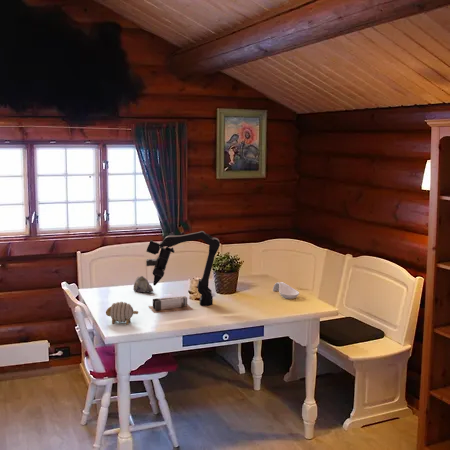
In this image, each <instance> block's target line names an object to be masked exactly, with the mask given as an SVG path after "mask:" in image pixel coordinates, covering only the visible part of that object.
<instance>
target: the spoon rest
mask: <svg viewBox="0 0 450 450" xmlns="http://www.w3.org/2000/svg"><path fill="white" fill-rule="evenodd" d="M272 292H279V295H280V297H282V298H283V299H287V300H293V299H296V298H297V297H299V295H300V292H299V291H298V290H296V289H295V288H293V287H292V286H291V285H289V284H287V283H285V282H283V281H280V282H275V283H274V285H273V287H272Z"/></svg>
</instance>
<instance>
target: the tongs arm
mask: <svg viewBox="0 0 450 450" xmlns="http://www.w3.org/2000/svg"><path fill="white" fill-rule="evenodd" d="M180 297H181V298H174V299H166V300H159V301H155V310H163V309H170V308H177V307H184V297H183V296H180Z"/></svg>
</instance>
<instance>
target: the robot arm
mask: <svg viewBox="0 0 450 450" xmlns="http://www.w3.org/2000/svg"><path fill="white" fill-rule="evenodd" d="M197 240H202V241H203V242H204V243H206V244H207V245H208V254H207V258H206V262H205V266H204V269H203V273H202V277H201V278H198V281H197V285H196V288H197V292H198V294H199V295H200V298H199V306H204V307H210V306H212V305H213V304H214V303H213V299H214V298H213V292H212V289H211V288H210V287H209V283H210V281H209V280H210V275H211V272H212V268H213V265H214V261H215V257H216V255H217V252H218V251H219V249H220V245H221V243H220V240H219V238H217V237H213V236H211V235H210V234H208V233H206V232H205V231H204V230H200V231H198V232H197V231H196V232H192V233H187V234H181V235H176V234H174V235H173V234H171V235H170V234H169V235H167V236H165V237H164V239H163V240H162V241H160V243H159V242H157V241H154V240H152V239H151V240H150V241H149V243H148V245H147V247H146V251H145V252H146V253H149V254H151V255H157V254H158V256H157V258H148V259H145V260H146V263H145V264H146V265H145V266H146V267H153V270H152V276H153V284H152V285H153V286H156V285H158V283H159V282H160V281H161V279H163V277H164V275H165V271H166V267H167V265H168V262H169V259H170V256H171V253H175V250H174V247H175V246H176V245H179V244H181V243H186V242H192V241H197Z"/></svg>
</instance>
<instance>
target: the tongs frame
mask: <svg viewBox="0 0 450 450" xmlns="http://www.w3.org/2000/svg"><path fill="white" fill-rule="evenodd" d="M181 297H184V306H185V307H186V306H187V304H188V297H187V296H186V295H185V296H175V297H174V296H172V297H171V296H170V297H158V298H152V306H153V308H155V301H159V300H166V299H174V298H181Z"/></svg>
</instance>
